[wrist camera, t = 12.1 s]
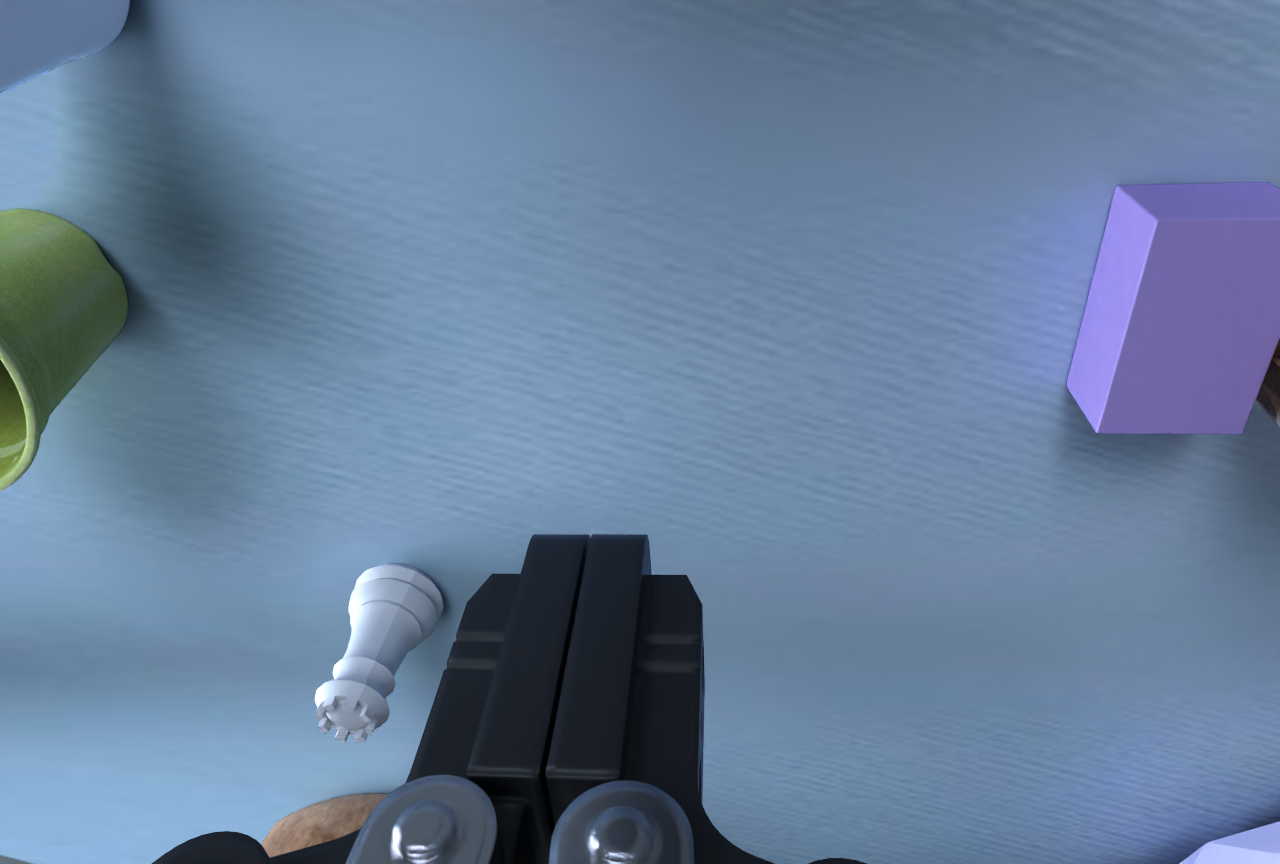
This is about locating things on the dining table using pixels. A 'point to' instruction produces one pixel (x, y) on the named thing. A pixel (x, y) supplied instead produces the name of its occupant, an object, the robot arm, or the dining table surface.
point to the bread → (320, 823)
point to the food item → (1271, 388)
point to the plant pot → (48, 324)
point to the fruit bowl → (1241, 848)
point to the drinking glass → (53, 34)
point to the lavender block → (1180, 309)
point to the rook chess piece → (377, 647)
